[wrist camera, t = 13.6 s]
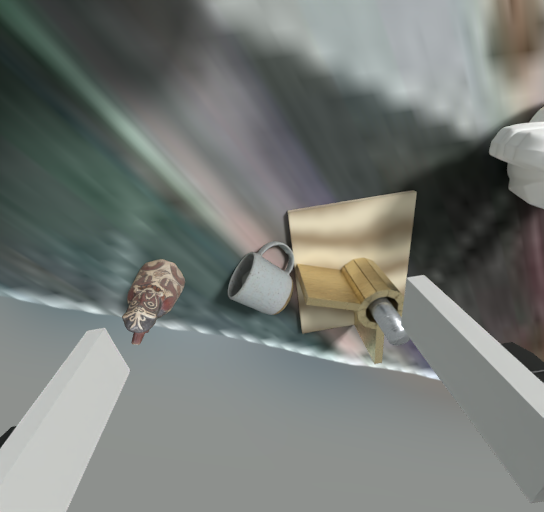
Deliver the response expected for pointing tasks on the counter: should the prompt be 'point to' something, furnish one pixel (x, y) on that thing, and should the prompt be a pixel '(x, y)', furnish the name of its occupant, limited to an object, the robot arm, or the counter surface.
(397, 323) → the hinge pin
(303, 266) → the brass hinge
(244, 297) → the ceramic mug
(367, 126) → the counter surface
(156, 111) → the counter surface
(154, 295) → the figurine
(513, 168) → the decorative rooster
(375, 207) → the birch board
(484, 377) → the robot arm
